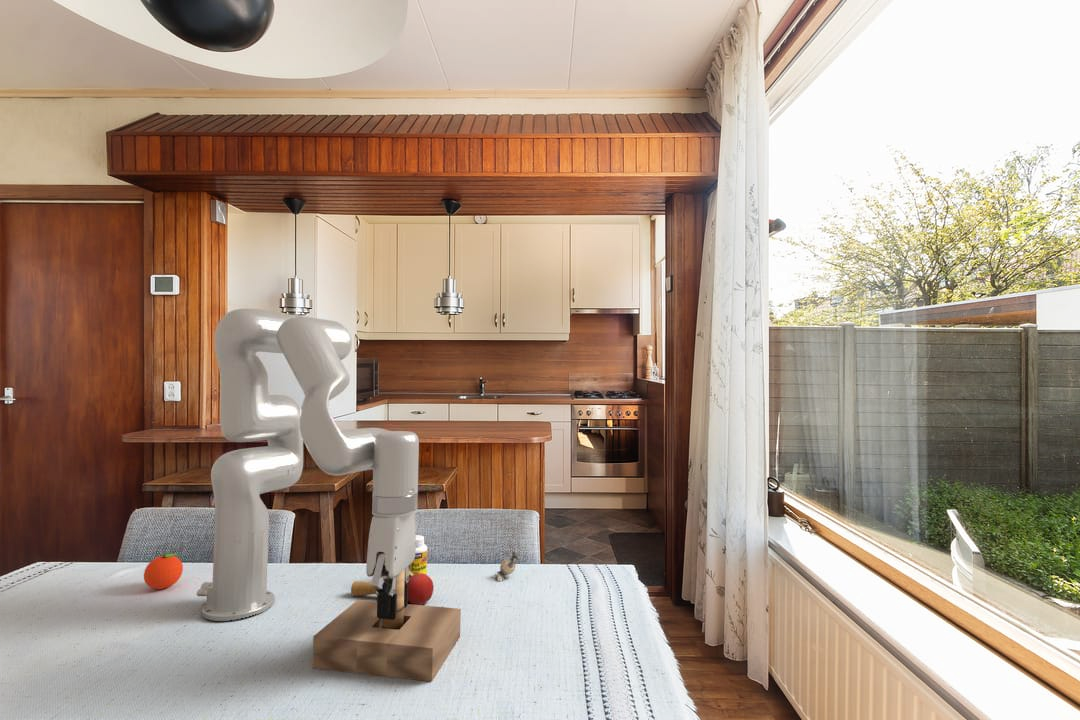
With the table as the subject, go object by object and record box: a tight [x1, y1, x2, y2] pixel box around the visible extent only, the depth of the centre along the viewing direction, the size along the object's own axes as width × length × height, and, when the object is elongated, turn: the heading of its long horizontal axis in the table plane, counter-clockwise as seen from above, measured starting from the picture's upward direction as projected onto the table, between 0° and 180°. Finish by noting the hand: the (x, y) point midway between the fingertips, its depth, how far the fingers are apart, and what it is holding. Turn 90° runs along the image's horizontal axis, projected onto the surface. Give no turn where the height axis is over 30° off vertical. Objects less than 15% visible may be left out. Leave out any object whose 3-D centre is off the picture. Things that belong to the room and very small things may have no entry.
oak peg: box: [382, 569, 405, 630], centre depth 87 cm, size 4×4×12 cm
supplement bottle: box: [409, 534, 428, 575], centre depth 117 cm, size 6×6×10 cm
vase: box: [496, 551, 522, 582], centre depth 121 cm, size 5×5×6 cm
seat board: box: [311, 599, 462, 682], centre depth 87 cm, size 20×14×5 cm
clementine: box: [143, 553, 185, 590], centre depth 112 cm, size 8×7×7 cm
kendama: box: [350, 571, 434, 605], centre depth 108 cm, size 8×6×18 cm
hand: (392, 611), depth 87 cm, fingers closed on oak peg, 3 cm apart
